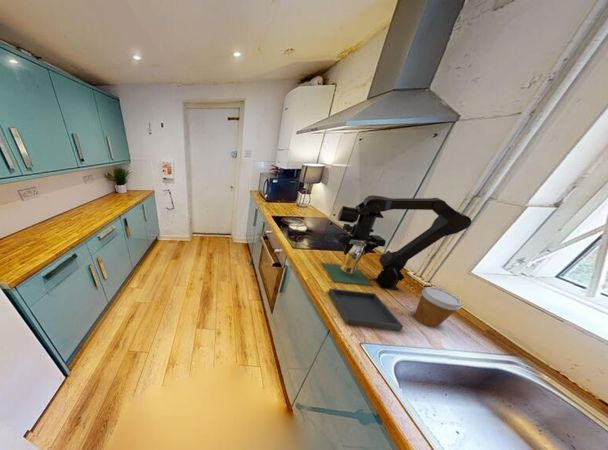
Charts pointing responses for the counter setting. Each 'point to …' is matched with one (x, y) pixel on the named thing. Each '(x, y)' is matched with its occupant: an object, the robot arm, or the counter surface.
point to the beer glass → (353, 256)
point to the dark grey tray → (364, 310)
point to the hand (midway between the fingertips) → (353, 255)
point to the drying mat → (346, 275)
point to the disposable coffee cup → (436, 306)
